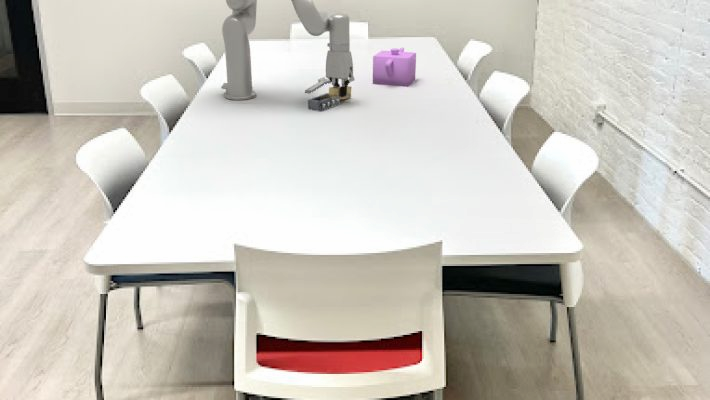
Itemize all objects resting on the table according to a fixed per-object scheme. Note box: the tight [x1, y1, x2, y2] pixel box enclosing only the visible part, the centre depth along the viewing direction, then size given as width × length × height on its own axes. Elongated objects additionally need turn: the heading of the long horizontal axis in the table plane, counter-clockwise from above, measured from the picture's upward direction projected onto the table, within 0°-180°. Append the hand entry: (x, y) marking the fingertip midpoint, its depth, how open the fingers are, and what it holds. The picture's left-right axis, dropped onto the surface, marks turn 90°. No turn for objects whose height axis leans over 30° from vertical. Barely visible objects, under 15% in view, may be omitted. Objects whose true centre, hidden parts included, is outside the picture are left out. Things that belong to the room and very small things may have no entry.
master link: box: [328, 84, 352, 100], centre depth 289 cm, size 2×12×5 cm, turn 148°
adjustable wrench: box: [304, 76, 332, 94], centre depth 312 cm, size 25×6×2 cm, turn 155°
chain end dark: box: [307, 95, 331, 112], centre depth 280 cm, size 7×6×4 cm
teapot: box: [372, 47, 417, 87], centre depth 318 cm, size 15×25×14 cm, turn 162°
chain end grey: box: [318, 92, 341, 108], centre depth 284 cm, size 7×5×4 cm
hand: (340, 95), depth 290 cm, fingers closed on master link, 2 cm apart
